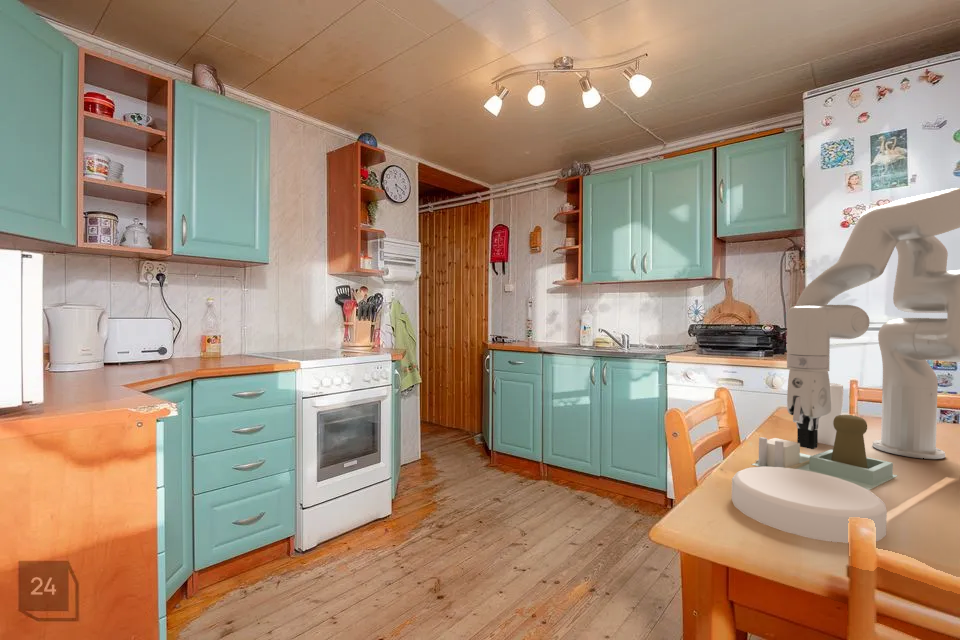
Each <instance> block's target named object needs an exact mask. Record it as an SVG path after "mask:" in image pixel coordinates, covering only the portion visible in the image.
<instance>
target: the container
mask: <svg viewBox="0 0 960 640" xmlns="http://www.w3.org/2000/svg"><path fill="white" fill-rule="evenodd" d="M731 501H732V504H733V506H734V507H735V508H736V509H737V510H739V512H741V513H743V514H744V515H745V516H747V517H749V518H750V519H753V520H754V521H757V522H759V523H760V524H762V525H765V526H769V527H771V528H772V529H773V528H774V529H776V530H778V531H779V530H780V531H782V532H785V533H789V534H791V535H796V536H800V537H803V538H808V539H811V540H819V541H825V542H831V541H832V542H833V543H837V542H843V544H849V543H848V523H849V521H848V519H849V517H860V518H868V519H871V520H873V521H874V523H875V527H876V541H875V542H879V541H881V540H882V539H883V538H884V537H886V536H887V519H888V518H887V513H888V511H887V506H886V503H885V502H884V501H883V500H882V499H881V498H880V497H879V496H877V495H876V494H875V493H873V492H872V491H871V490H867V489H865V488H863V487H861V486H859V485H857V484H854V483H851V482H848V481H845V480H842V479H839V478H836V477H832V476H828V475H824V474H820V473H816V472H811V471H805V470H800V469H792V468H783V467H759V466H755V467H754V466H751V467H746V468H744V469H742V470H739V471H737V472H736V473H735V474H734V475H733V477H732V478H731ZM832 542H831V543H832ZM844 542H845V543H844Z"/></svg>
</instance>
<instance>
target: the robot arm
mask: <svg viewBox="0 0 960 640" xmlns="http://www.w3.org/2000/svg"><path fill="white" fill-rule="evenodd" d="M956 229H960V188H957V187H955V188H950V189H945V190H941V191H935V192H931V193H925V194H920V195H916V196H911V197H906V198H905V197H904V198H901V199H898V200H894V201H892V202H889V203H887V204H884V205H879V206H875V207H873V208H872V207H871V208H870V209H867V210H865V211H864V212H863V213H862V214H861V215H860V216H859V218H858V219H857V221H856V223H855V225H854V227H853V229H852V231H851V233H850V235H849V238H847V239H848V240H847V241H846V244H845V246H844V248H843V250H842V252H841V254H840V257H839V259H838V260H836V261H837V262H835V263H834V264H833V265H831V266H829V267H828V268H827V269H826V270H824V271H823V272H822V273H820V274H819V275H818V276H817V277H815V279H813V280H812V281H810V283H809V284H807V286H806V287H805V288H804V289H803V290H802V292H801V293H800V296H799V297H798V299H797V301H796V303H795V305H794V306H792V307H790V308H789V309H788V311H787V313H786V314H787V316H786V369H787V370H789V372H788V378H787V379H788V381H787V390H786V391H787V392H786V393H787V394H786V405H787V406H786V408H787V413H789V415H791V416H793V417H792V423H795V424H796V428H797V429H796V430H797V432H796V433H797V443H800V448H805V449H810V450H814V449H815V450H816V449H817V448H818V446H819V445H818V444H819V443H818V430H815V429H818V424H819V418H820V417H821V416H824V415H827V414H829V413H830V412H831V395H830V383H831V381H830V376H829V375H830V374H829V372H830V352H831V351H830V349H831V348H830V347H831V345H830V344H831V343H830V342H831V340H832V339H833V340H854V339H857V338H859V337H861V336H863V335H864V334H865V333H866V332H868V330H869V328H870V323H871V322H870V317H869V315H868V313H867V312H866V311H865V310H864V309H863V308H861V307H859V306H856V305H852V304H829V303H830V302H831V301H832V300H833V299H835V298H836V297H837V296H839V295H840V294H842V293H845V292H846V291H849V290H851V289H854V288H857V287H860V286H862V285H864V284H867V283H869V282H871V281H873V280H876V279H877V278H879V277H880V276H881V275H882V274H883V273H884V272H885V270H886V267H887V265H888V263H889V261H890V259H891V257H892V254H893V252H894V249H895V248H896V250H897V256H898V257H897V258H898V259H897V267H896V275H895V281H894V287H893V295H892V300H893V301H892V302H893V304H894V307H895V308H896V309H897V310H900V311H901V312H904V313H913V314H916V313H917V314H946V315H947V316H946V317H947V318H943V317H942V318H932V317H931V318H930V317H900V318H894V319H891V320H888V321H886V322H885V323H884V324H883V325H882V326H881V327H880V328H879V330H878V334H877V338H878V339H877V340H878V345H879V350H880V354H881V361H882V389H881V390H882V393H881V396H882V397H881V428H880V429H881V432H880V439H875V440H873V441H872V447H873V448H875V449H876V450H879V451H882V452H884V453H889V454H893V455H897V456H903V457H909V458H916V459H923V458H924V459H926V460H942V459H945V458H946V452H945V451H944V450H942V449H940V448H938V447H937V427H938V426H937V425H938V424H937V421H938V419H937V418H938V415H937V414H938V389H939V388H938V387H939V386H938V384H939V383H938V376H937V374H936V372H935V371H934V369H933V368H932V367H931V365H930V363H928V361H937V362H938V361H939V362H952V363H953V362H954V363H955V362H956V363H960V269H957V270H956V269H955V270H947V264H948V256H949V255H948V254H949V253H948V250H947V248H946V246H945V245H944V244H943V243H942V241H941V240H939V239H938V237H936V236H939V235H942V234H944V233H949V232H952V231H954V230H956ZM830 339H831V340H830Z"/></svg>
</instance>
